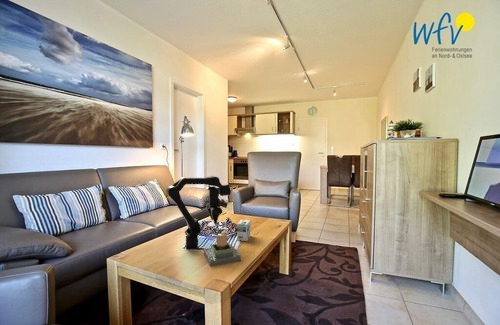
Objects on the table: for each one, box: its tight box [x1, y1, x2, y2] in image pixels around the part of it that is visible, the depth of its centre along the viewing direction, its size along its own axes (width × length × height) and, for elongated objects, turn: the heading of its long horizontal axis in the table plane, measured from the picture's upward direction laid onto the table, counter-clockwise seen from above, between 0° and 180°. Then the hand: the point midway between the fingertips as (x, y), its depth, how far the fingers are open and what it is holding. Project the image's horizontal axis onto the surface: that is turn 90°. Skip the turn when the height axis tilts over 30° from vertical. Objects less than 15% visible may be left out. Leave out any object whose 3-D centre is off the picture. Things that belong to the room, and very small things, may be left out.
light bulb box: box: [236, 219, 251, 242], centre depth 154 cm, size 11×7×11 cm, turn 168°
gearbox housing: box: [203, 241, 242, 267], centre depth 126 cm, size 16×16×6 cm
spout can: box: [216, 232, 231, 250], centre depth 126 cm, size 7×6×10 cm
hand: (213, 221), depth 146 cm, fingers open, 9 cm apart
